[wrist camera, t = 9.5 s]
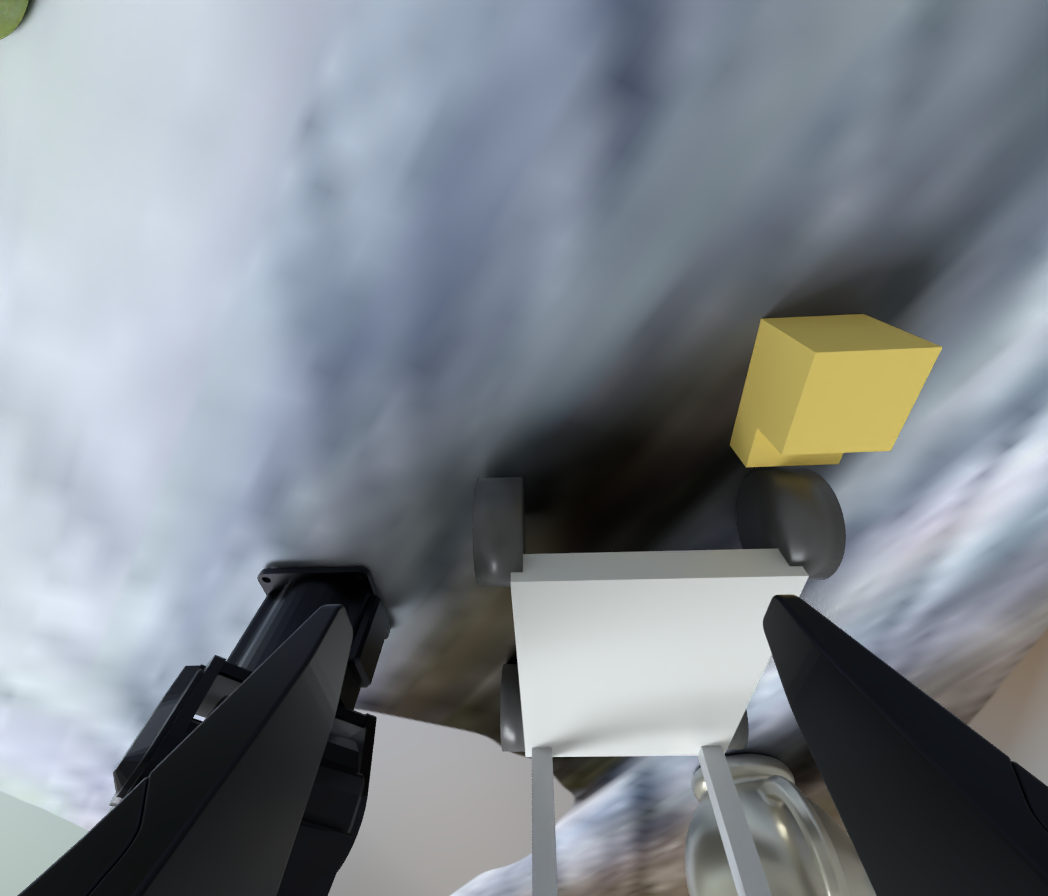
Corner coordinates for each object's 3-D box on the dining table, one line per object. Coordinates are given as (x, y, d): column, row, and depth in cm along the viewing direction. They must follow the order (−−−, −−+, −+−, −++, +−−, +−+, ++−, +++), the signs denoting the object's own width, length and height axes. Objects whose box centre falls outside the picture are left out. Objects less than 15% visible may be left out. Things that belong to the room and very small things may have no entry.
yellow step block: (728, 443, 20) (767, 496, 17) (759, 317, 17) (815, 352, 14) (813, 440, 20) (869, 492, 17) (860, 312, 17) (942, 347, 14)
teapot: (788, 802, 43) (908, 1093, 30) (653, 802, 44) (711, 1090, 30) (855, 713, 34) (1080, 1085, 20) (681, 715, 34) (785, 1081, 20)
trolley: (708, 685, 32) (816, 991, 20) (507, 687, 32) (495, 988, 20) (793, 448, 20) (1166, 832, 8) (480, 457, 21) (417, 835, 9)
